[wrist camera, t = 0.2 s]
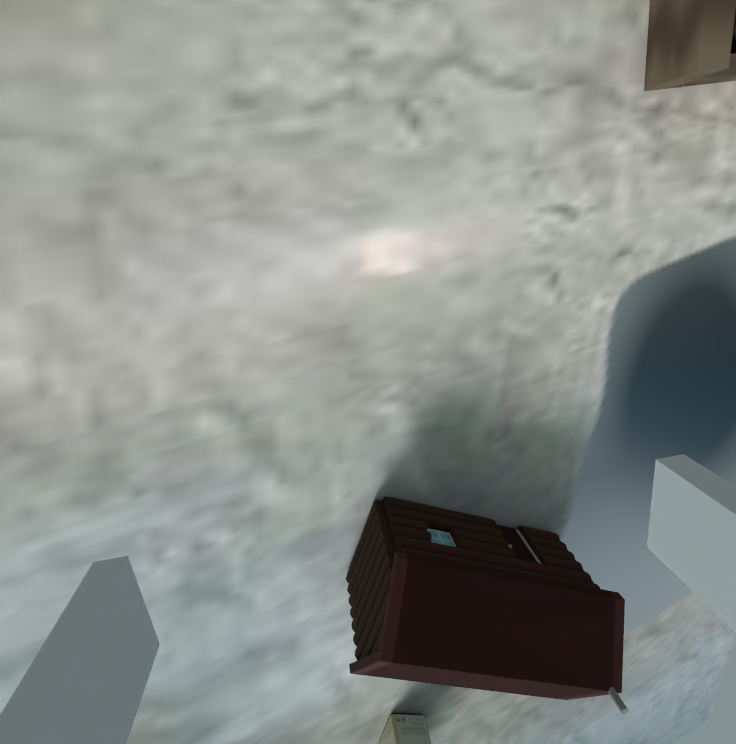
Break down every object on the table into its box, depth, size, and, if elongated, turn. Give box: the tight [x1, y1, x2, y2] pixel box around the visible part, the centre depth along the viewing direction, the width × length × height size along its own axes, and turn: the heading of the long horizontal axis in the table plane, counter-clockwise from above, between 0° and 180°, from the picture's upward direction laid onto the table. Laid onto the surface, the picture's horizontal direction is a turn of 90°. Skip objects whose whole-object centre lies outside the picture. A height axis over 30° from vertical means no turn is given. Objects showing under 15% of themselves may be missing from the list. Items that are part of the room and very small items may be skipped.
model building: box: [346, 497, 628, 714], centre depth 40 cm, size 21×12×15 cm, turn 72°
